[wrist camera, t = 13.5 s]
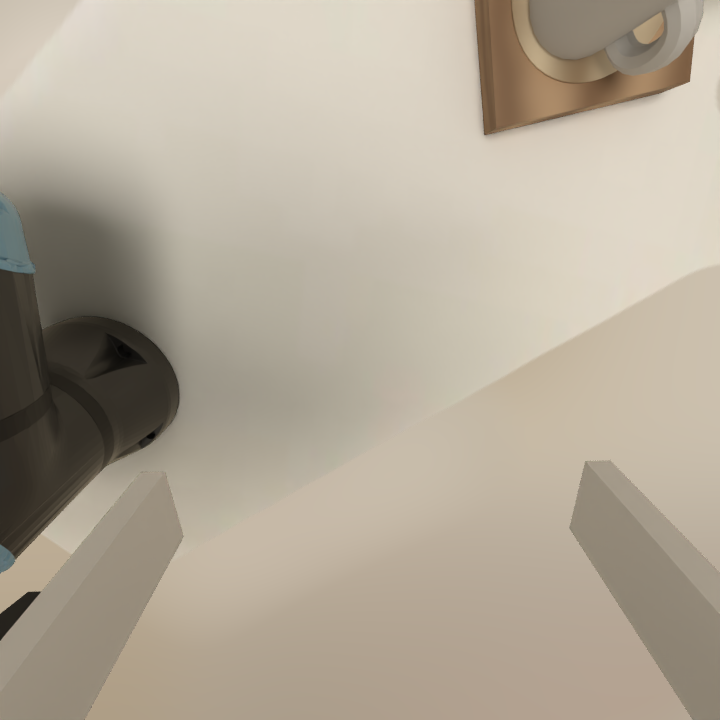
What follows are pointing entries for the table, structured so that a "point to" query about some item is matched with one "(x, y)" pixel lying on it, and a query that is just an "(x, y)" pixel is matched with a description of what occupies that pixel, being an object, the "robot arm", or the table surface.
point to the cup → (615, 30)
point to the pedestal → (555, 71)
